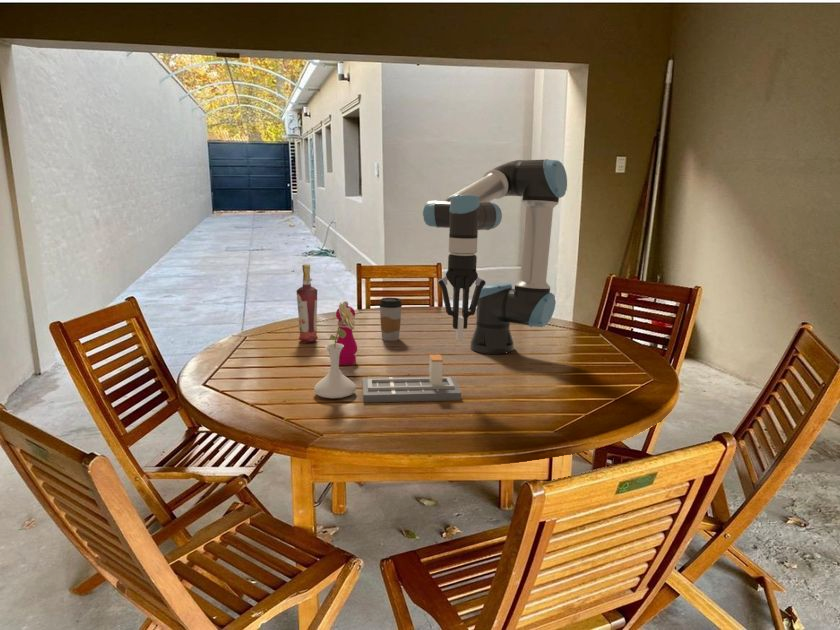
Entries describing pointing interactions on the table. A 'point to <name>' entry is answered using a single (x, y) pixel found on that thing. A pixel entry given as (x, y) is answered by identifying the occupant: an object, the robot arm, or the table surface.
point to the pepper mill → (346, 341)
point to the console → (409, 389)
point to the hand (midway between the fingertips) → (459, 340)
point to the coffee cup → (390, 318)
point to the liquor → (307, 308)
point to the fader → (435, 369)
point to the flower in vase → (337, 363)
